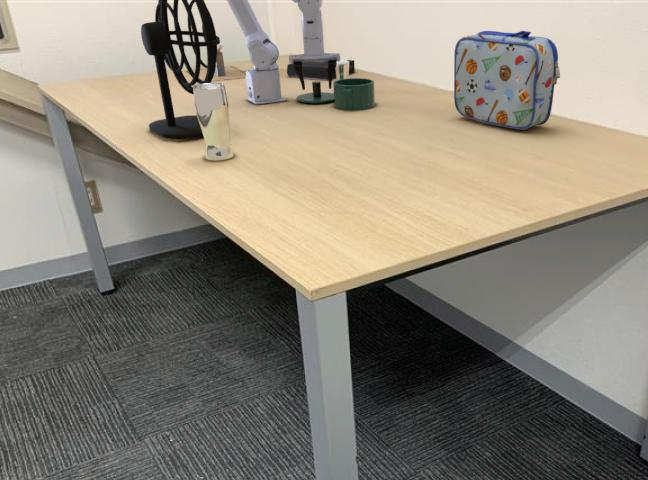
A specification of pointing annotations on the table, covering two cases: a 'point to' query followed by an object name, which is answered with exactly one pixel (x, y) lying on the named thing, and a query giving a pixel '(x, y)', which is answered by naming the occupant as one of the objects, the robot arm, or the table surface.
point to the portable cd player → (316, 70)
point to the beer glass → (213, 119)
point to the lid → (316, 95)
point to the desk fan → (162, 49)
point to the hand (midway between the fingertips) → (317, 88)
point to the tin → (354, 93)
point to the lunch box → (505, 78)
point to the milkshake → (342, 69)
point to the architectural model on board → (221, 70)
